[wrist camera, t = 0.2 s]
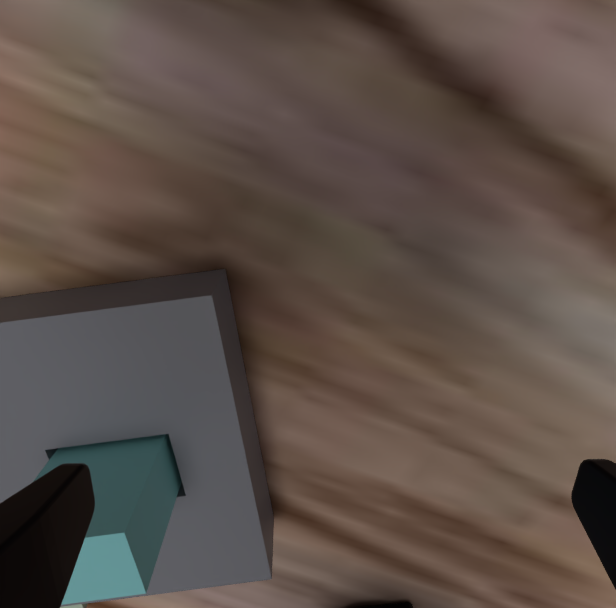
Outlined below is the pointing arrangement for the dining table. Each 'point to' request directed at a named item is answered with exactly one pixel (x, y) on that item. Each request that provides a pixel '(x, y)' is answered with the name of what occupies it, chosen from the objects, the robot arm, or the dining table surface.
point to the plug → (122, 514)
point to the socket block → (145, 409)
